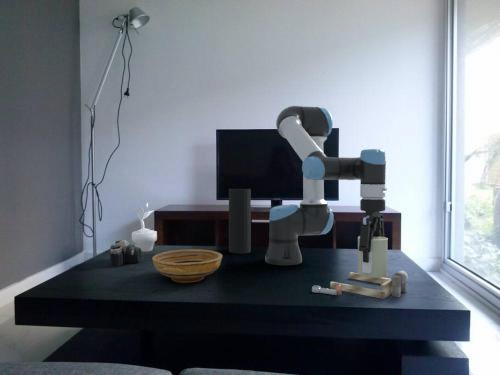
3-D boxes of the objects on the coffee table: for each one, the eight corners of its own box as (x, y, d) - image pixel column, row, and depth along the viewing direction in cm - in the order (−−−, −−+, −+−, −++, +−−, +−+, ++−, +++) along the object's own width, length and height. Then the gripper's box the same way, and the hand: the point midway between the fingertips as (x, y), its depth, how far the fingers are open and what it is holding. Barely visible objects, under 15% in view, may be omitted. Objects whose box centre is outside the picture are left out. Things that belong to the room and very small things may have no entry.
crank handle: (312, 291, 115) (312, 282, 115) (314, 290, 116) (314, 280, 116) (340, 296, 110) (340, 286, 110) (342, 294, 112) (342, 284, 112)
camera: (134, 269, 144) (134, 243, 143) (107, 269, 143) (107, 243, 143) (144, 260, 159) (144, 237, 159) (120, 260, 159) (120, 237, 159)
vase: (224, 253, 174) (224, 189, 174) (240, 250, 181) (240, 188, 181) (238, 256, 167) (238, 189, 166) (255, 253, 174) (255, 189, 173)
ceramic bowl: (205, 293, 113) (205, 267, 113) (134, 288, 119) (133, 263, 119) (233, 270, 142) (233, 249, 141) (174, 266, 147) (174, 246, 147)
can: (390, 278, 112) (390, 238, 112) (358, 277, 114) (358, 238, 114) (385, 271, 121) (385, 234, 121) (356, 270, 123) (356, 233, 123)
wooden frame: (330, 288, 118) (330, 267, 118) (350, 277, 131) (350, 259, 131) (397, 301, 105) (397, 278, 105) (413, 288, 118) (413, 268, 118)
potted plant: (143, 256, 167) (142, 200, 167) (126, 253, 174) (125, 200, 173) (164, 251, 178) (163, 199, 177) (147, 249, 184) (146, 198, 184)
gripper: (372, 200, 107) (371, 278, 107) (395, 197, 123) (395, 265, 124) (347, 199, 111) (347, 274, 112) (373, 196, 128) (373, 262, 129)
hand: (372, 269), depth 118 cm, fingers closed on can, 9 cm apart
